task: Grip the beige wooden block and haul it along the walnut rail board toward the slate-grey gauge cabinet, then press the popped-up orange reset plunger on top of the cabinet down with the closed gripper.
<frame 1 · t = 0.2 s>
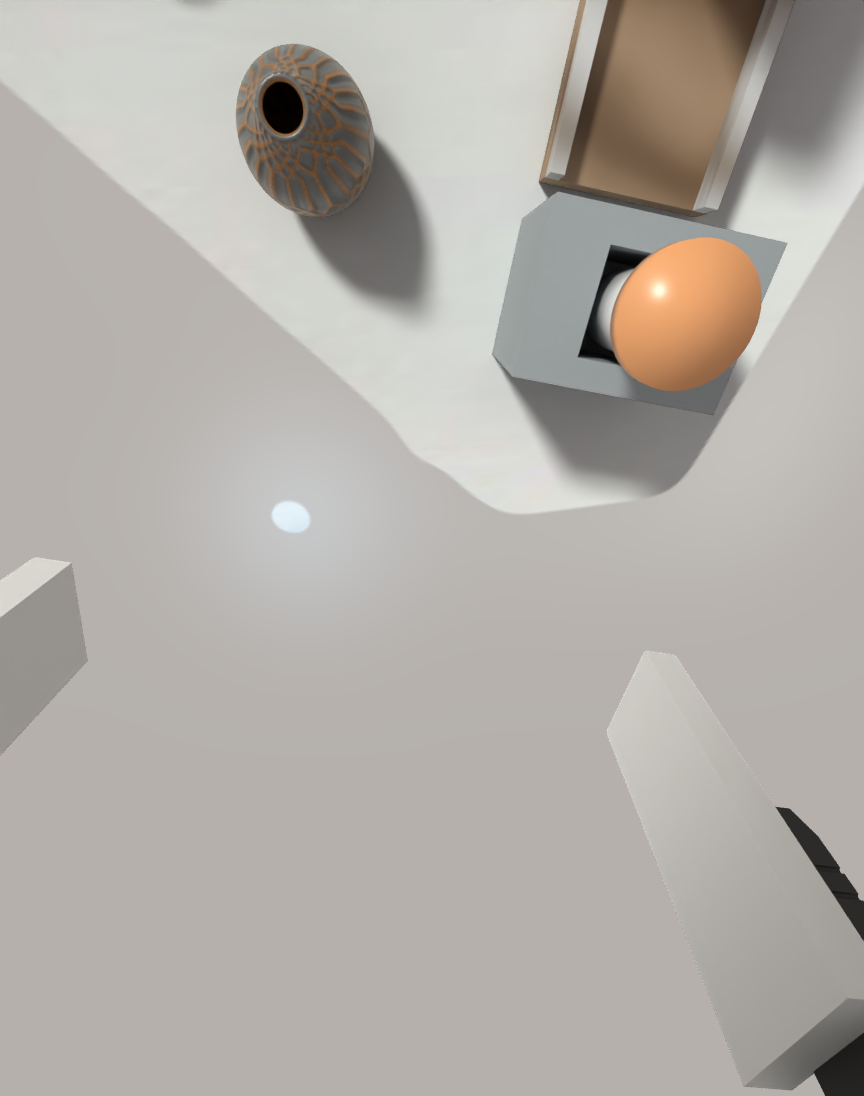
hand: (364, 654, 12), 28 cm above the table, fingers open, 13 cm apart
vase: (322, 155, 30), on the table
gauge cabinet: (586, 306, 34), on the table
reset plunger: (650, 314, 24), point 11 cm above the table, slide at 0.0 cm
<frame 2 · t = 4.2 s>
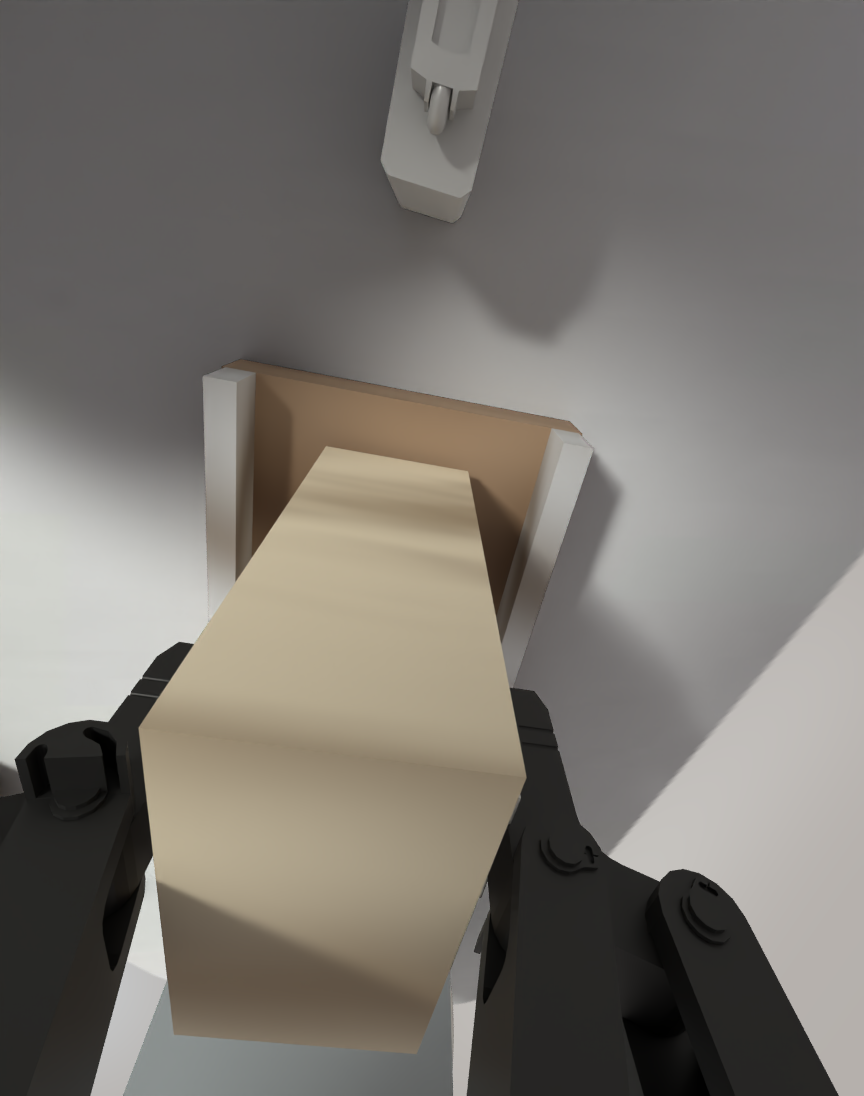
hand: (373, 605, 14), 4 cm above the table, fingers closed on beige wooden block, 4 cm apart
beige wooden block: (360, 677, 11), point 7 cm above the table, slide at -5.0 cm, touching gripper
lighter: (465, 40, 12), on the table
gauge cabinet: (331, 885, 27), on the table
rail board: (368, 651, 20), on the table
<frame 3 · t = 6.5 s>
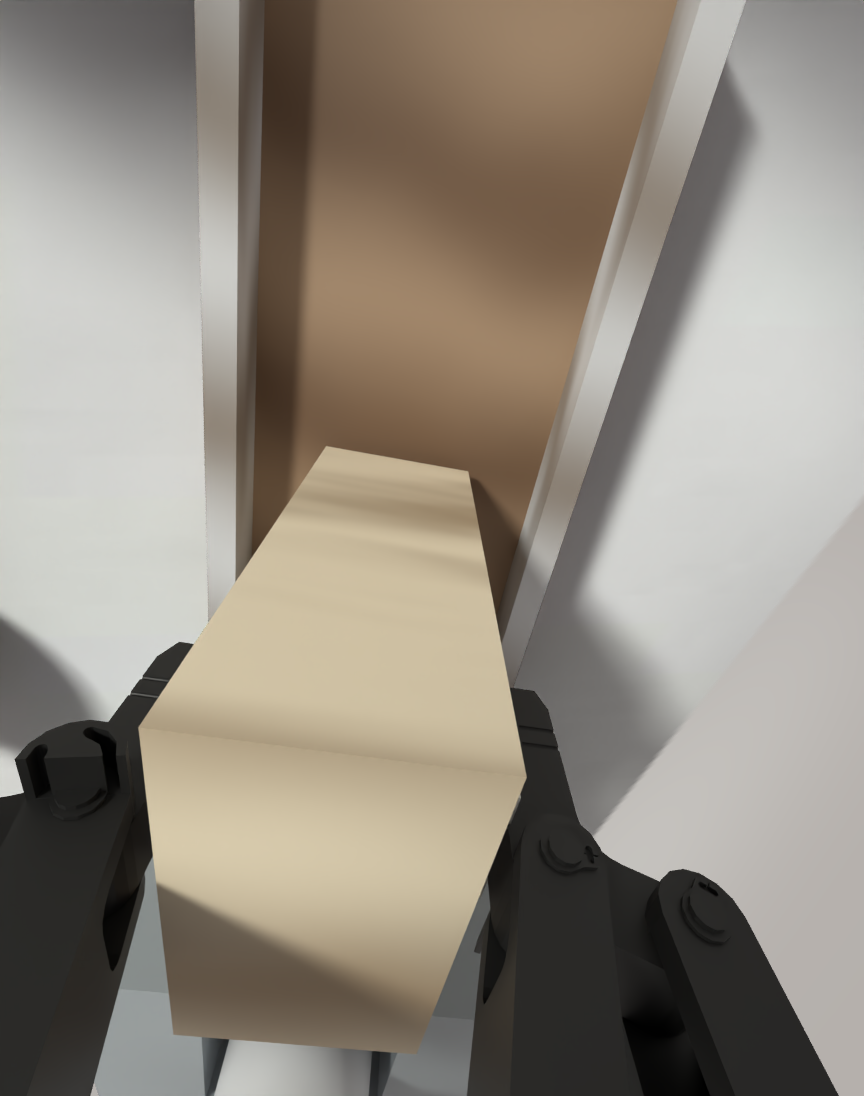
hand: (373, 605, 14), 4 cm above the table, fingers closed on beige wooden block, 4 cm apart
beige wooden block: (360, 677, 11), point 7 cm above the table, slide at 4.5 cm, touching gripper
gauge cabinet: (350, 764, 23), on the table
rail board: (406, 408, 15), on the table
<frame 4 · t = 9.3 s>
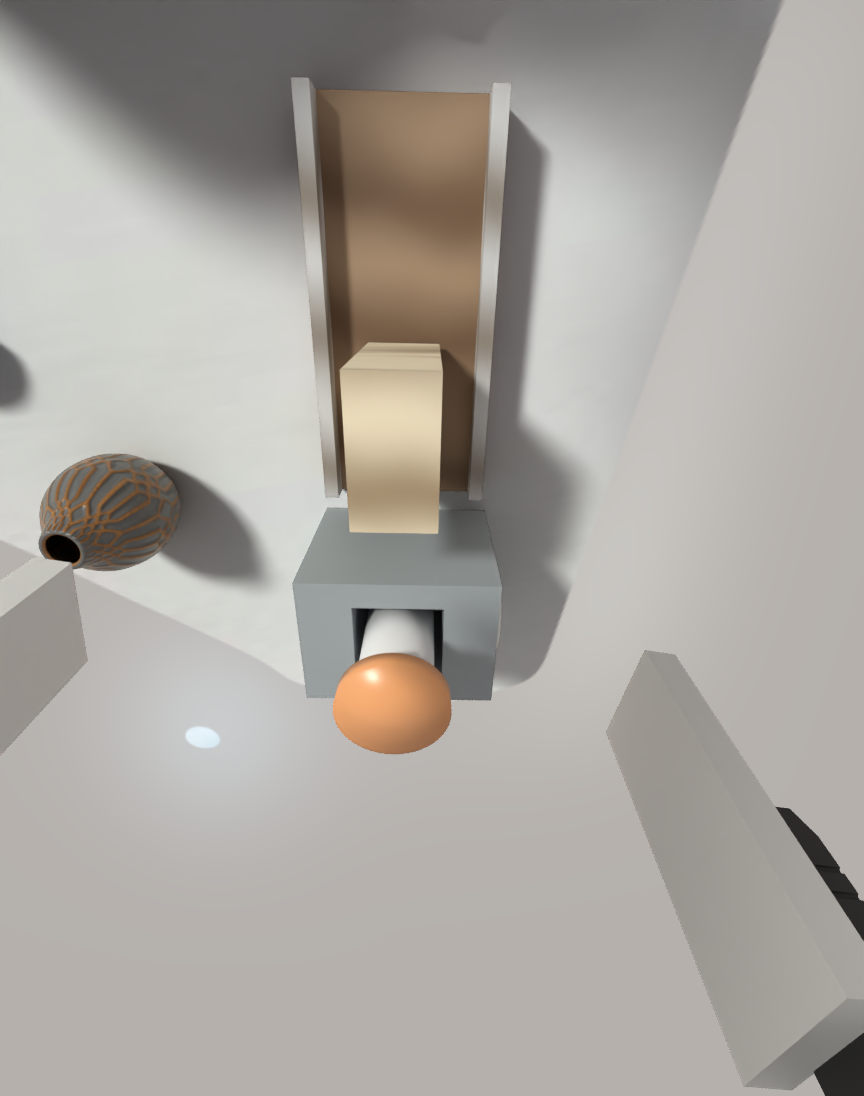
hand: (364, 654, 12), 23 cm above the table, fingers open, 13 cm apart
beige wooden block: (399, 427, 26), point 7 cm above the table, slide at 4.5 cm
vase: (145, 489, 35), on the table
gauge cabinet: (406, 559, 37), on the table
rail board: (405, 321, 30), on the table
reset plunger: (397, 657, 27), point 11 cm above the table, slide at 0.0 cm
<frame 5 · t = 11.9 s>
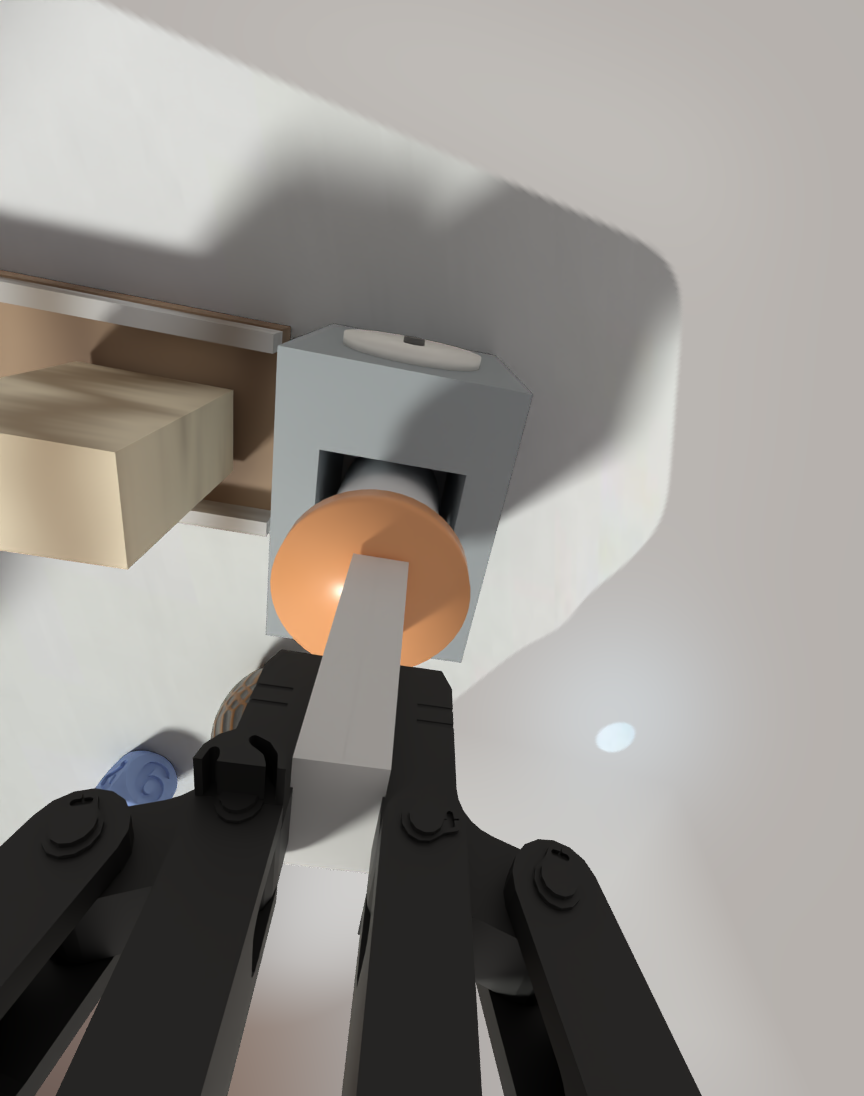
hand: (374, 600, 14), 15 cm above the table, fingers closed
beige wooden block: (98, 448, 20), point 7 cm above the table, slide at 4.5 cm
decorative dice: (149, 765, 39), on the table
vase: (287, 686, 35), on the table
gauge cabinet: (398, 449, 27), on the table
rail board: (86, 393, 26), on the table
reset plunger: (382, 533, 18), point 10 cm above the table, slide at 0.6 cm, touching gripper
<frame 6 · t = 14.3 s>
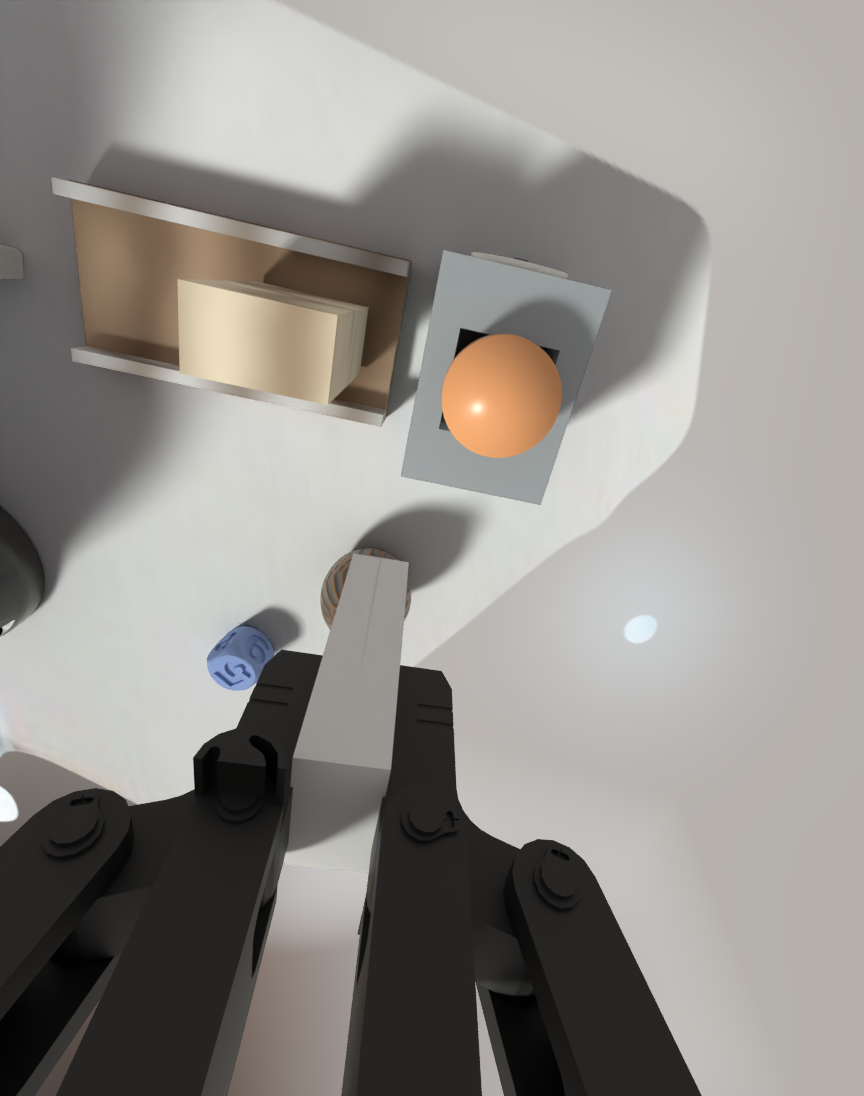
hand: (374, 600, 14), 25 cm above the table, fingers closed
beige wooden block: (287, 335, 28), point 7 cm above the table, slide at 4.5 cm
decorative dice: (249, 642, 46), on the table
vase: (372, 571, 43), on the table
gauge cabinet: (484, 364, 35), on the table
rail board: (249, 311, 33), on the table
reset plunger: (494, 385, 27), point 8 cm above the table, slide at 2.8 cm
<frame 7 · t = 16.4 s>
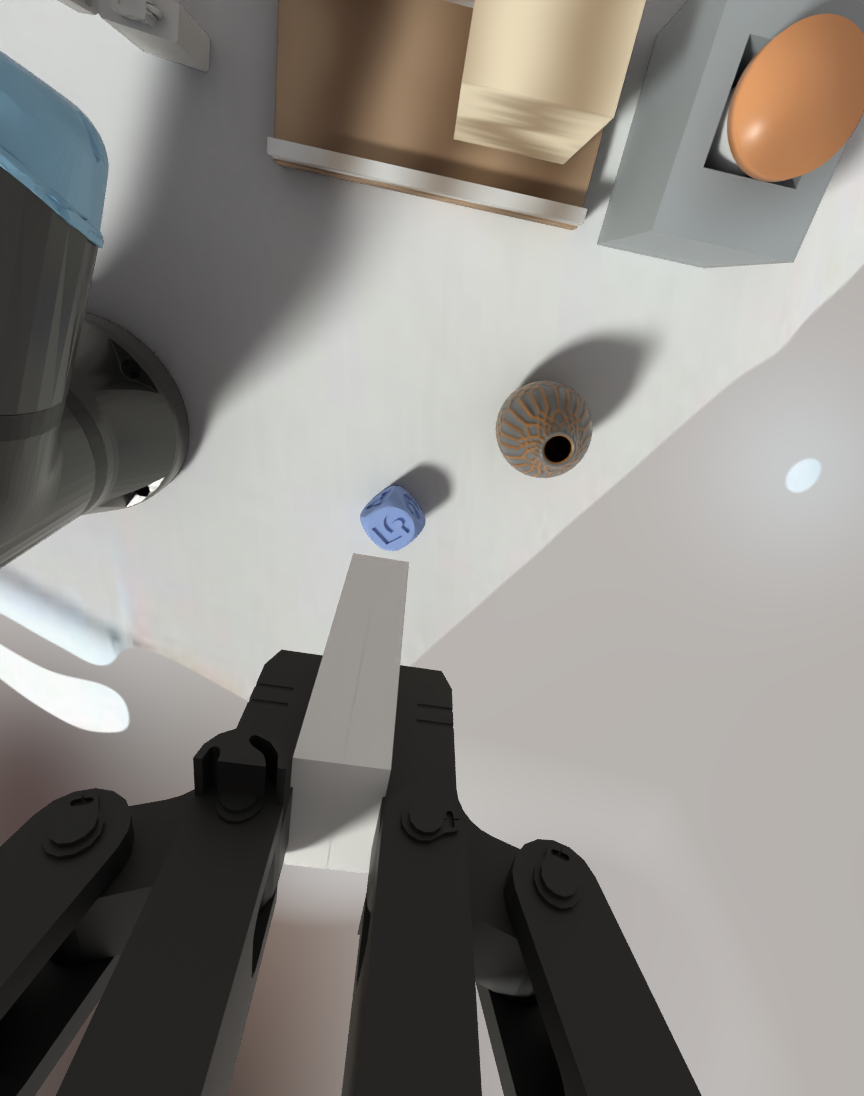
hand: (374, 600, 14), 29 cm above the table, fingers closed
beige wooden block: (531, 81, 26), point 7 cm above the table, slide at 4.5 cm
decorative dice: (394, 508, 45), on the table
lighter: (151, 36, 31), on the table
vase: (533, 417, 41), on the table
gauge cabinet: (682, 161, 33), on the table
rail board: (443, 104, 32), on the table
reset plunger: (753, 126, 26), point 8 cm above the table, slide at 2.8 cm
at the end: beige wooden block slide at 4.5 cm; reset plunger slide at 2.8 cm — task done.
